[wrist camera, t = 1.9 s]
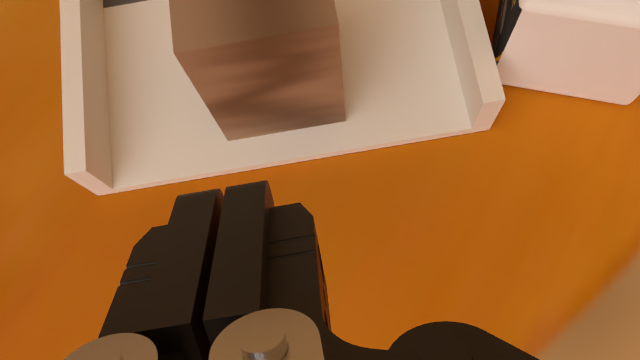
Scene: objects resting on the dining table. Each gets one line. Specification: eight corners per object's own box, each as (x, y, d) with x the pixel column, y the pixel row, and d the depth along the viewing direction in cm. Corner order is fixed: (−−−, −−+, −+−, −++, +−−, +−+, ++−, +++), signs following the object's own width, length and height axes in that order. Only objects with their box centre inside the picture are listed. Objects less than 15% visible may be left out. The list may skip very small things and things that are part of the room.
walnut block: (228, 141, 30) (173, 53, 21) (216, 37, 32) (161, -84, 23) (345, 121, 30) (338, 24, 21) (327, 17, 32) (313, -111, 23)
